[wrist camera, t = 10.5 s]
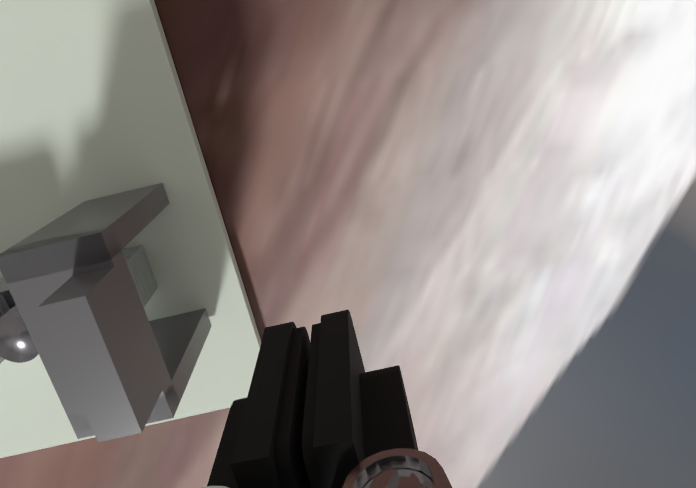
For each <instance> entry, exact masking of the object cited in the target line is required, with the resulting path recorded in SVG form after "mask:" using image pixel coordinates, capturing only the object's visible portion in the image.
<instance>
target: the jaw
mask: <svg viewBox="0 0 696 488" xmlns="http://www.w3.org/2000/svg"><path fill="white" fill-rule="evenodd" d="M9 310H10V309H9V307H8V305H7V303H6V300H5V298H4V296H3V295H0V318H1V317H2V316H3V315H4V314H6V313H7V312H8V311H9ZM4 360H5V359H4V358H2V357H1V356H0V363H2V362H3V361H4Z"/></svg>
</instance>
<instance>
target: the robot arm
mask: <svg viewBox="0 0 696 488" xmlns="http://www.w3.org/2000/svg"><path fill="white" fill-rule="evenodd" d="M203 488H452V486H451V484H450V482H449V480H448V478H447V476H446V474H445V472H444V470H443V468H442V467H441V465H440V464H439V463H438V461H437V460H436V459H435V458H433V457H432V456H430V455H428V454H427V453H425V452H422V451H418V447H417V442H416V437H415V433H414V428H413V423H412V419H411V414H410V410H409V405H408V401H407V396H406V392H405V388H404V383H403V379H402V375H401V371H400V367H399V366H394V367H389V368H384V369H380V370H375V371H370V372H365V370H364V366H363V362H362V358H361V354H360V350H359V346H358V342H357V338H356V334H355V330H354V326H353V322H352V319H351V315H350V312H349V310H345V311H340V312H335V313H331V314H326V315H322V316H321V323H319V324H314V325H312V332H311V343H310V340H309V336H308V333H307V330H306V328H305V327H300V328H296V326H295V324H294V322H289V323H285V324H280V325H276V326H271V327H266V328H265V330H264V334H263V338H262V342H261V346H260V350H259V354H258V358H257V361H256V365H255V369H254V373H253V377H252V381H251V385H250V389H249V392H248V396H247V398H242V399H237V400H235V401H233V403H232V405H231V408H230V411H229V414H228V418H227V421H226V424H225V428H224V431H223V435H222V438H221V441H220V445H219V448H218V451H217V455H216V458H215V462H214V465H213V468H212V472H211V475H210V478H209V482H208V485H207V487H203Z"/></svg>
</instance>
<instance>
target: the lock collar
mask: <svg viewBox="0 0 696 488" xmlns="http://www.w3.org/2000/svg"><path fill="white" fill-rule="evenodd" d="M168 204H169V200H168V197H167V194H166V191H165V188H164V185H163V183H159V184H155V185H151V186H146V187H142V188H138V189H134V190H130V191H125V192H121V193H117V194H113V195H109V196H104V197H100V198H96V199H92V200H88V201H84V202H83V203H81V204H79V205H78V206H76V207H75V208H73V209H71V210H70V211H68V212H66V213H65V214H63V215H62V216H60V217H58V218H57V219H55V220H54V221H52V222H50V223H49V224H47V225H46V226H44V227H42V228H41V229H39V230H38V231H36V232H34V233H33V234H31V235H30V236H28V237H26V238H25V239H23V240H22V241H20V242H18V243H17V244H15V245H14V246H12V247H10V248H9V249H7V250H5V251H4V252H2V253H1V254H0V271H1V273H2V275H3V277H4V280H5V282H6V284H7V286H8V288H9V290H10V293H11V295H12V297H13V299H14V301H15V303H16V306H17V308H18V310H19V312H20V314H21V317H22V319H23V321H24V323H25V325H26V327H27V330H28V332H29V334H30V336H31V338H32V340H33V343H34V345H35V347H36V349H37V351H38V354H39V356H40V358H41V360H42V362H43V364H44V367H45V369H46V371H47V373H48V375H49V377H50V380H51V382H52V384H53V386H54V388H55V391H56V393H57V395H58V397H59V399H60V401H61V404H62V406H63V408H64V410H65V412H66V414H67V417H68V419H69V421H70V423H71V425H72V428H73V430H74V432H75V434H76V436H77V438H78V439H80V438H85V437H89V436H94V435H95V437H96V439H97V441H98V442H101V441H105V440H110V439H115V438H119V437H124V436H128V435H133V434H137V433H142V431H143V429H144V427H145V425H146V424H148V423H153V422H157V421H162V420H166V419H171V418H174V415H175V413H176V410H177V408H178V406H179V403H180V401H181V398H182V396H183V394H184V391H185V389H186V386H187V384H188V382H189V379H190V377H191V374H192V372H193V370H194V367H195V365H196V362H197V360H198V358H199V355H200V353H201V350H202V348H203V346H204V343H205V341H206V339H207V336H208V334H209V331H210V329H211V327H212V325H211V322H210V319H209V316H208V313H207V311H206V308H204V309H200V310H196V311H191V312H187V313H182V314H178V315H174V316H169V317H165V318H161V319H156V320H152V321H149V320H148V318H147V315H146V312H145V310H144V307H143V305H142V302H141V299H140V297H139V294H138V292H137V289H136V286H135V284H134V281H133V278H132V276H131V273H130V271H129V268H128V265H127V263H126V260H125V257H124V255H123V252H122V249H123V248H124V247H125V246H126V245H127V244H128V243H129V242H130V241H131V240H132V239H133V238H134V237H136V236H137V235H138V234H139V233H140V232H141V231H142V230H143V229H144V228H145V227H146V226H147V225H148V224H149V223H150V222H151V221H152V220H153V219H154V218H155V217H156V216H157V215H158V214H159V213H160V212H161V211H162V210H163V209H164V208H165V207H166V206H167V205H168Z"/></svg>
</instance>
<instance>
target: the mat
mask: <svg viewBox="0 0 696 488" xmlns="http://www.w3.org/2000/svg"><path fill="white" fill-rule="evenodd" d="M159 183H163V185H164V188H165V191H166V194H167V197H168V200H169V204H168V205H167V206H166V207H165V208H164V209H163V210H162V211H161V212H160V213H159V214H158V215H157V216H156V217H155V218H154V219H153V220H152V221H151V222H150V223H149V224H148V225H147V226H146V227H145V228H144V229H143V230H142V231H141V232H140V233H139V234H138V235H137V236H136V237H134V238H133V239H132V240H131V241H130V242H129V243H128V244H127V245H126V246H125V247H124V248H123V249H126V248H130V247H134V246H139V245H143V246H144V249H145V252H146V255H147V257H148V260H149V263H150V266H151V268H152V271H153V274H154V276H155V279H156V282H157V285H158V288H157V290H156V291H155V293H154V294H153V295H152V297H151V298H150V300H149V301H148V302H147V304H146V305H145V307H144V310H145V312H146V315H147V318H148V320H149V321H152V320H156V319H161V318H165V317H169V316H174V315H178V314H182V313H187V312H191V311H196V310H200V309H204V308H206V311H207V313H208V316H209V319H210V322H211V325H212V327H211V329H210V331H209V334H208V336H207V339H206V341H205V343H204V346H203V348H202V350H201V353H200V355H199V358H198V360H197V362H196V365H195V367H194V370H193V372H192V374H191V377H190V379H189V382H188V384H187V386H186V389H185V391H184V394H183V396H182V398H181V401H180V403H179V406H178V408H177V410H176V413H175V415H174V418H171V419H166V420H162V421H157V422H153V423H148V424H146V425H145V426H148V425H152V424H157V423H161V422H166V421H170V420H175V419H179V418H184V417H188V416H193V415H197V414H202V413H206V412H211V411H216V410H220V409H225V408H229V407H231V405H232V403H233V401H235V400H237V399H242V398H247V396H248V392H249V389H250V385H251V381H252V377H253V373H254V369H255V365H256V361H257V358H258V354H259V350H260V346H261V339H260V336H259V332H258V329H257V326H256V323H255V320H254V317H253V313H252V310H251V307H250V304H249V301H248V298H247V294H246V291H245V288H244V285H243V282H242V278H241V275H240V272H239V269H238V266H237V263H236V259H235V256H234V253H233V250H232V247H231V244H230V240H229V237H228V234H227V231H226V228H225V224H224V221H223V218H222V215H221V212H220V209H219V205H218V202H217V199H216V196H215V193H214V190H213V186H212V183H211V180H210V177H209V174H208V170H207V167H206V164H205V161H204V158H203V155H202V151H201V148H200V145H199V142H198V139H197V136H196V132H195V129H194V126H193V123H192V120H191V116H190V113H189V110H188V107H187V104H186V101H185V97H184V94H183V91H182V88H181V85H180V81H179V78H178V75H177V72H176V69H175V66H174V62H173V59H172V56H171V53H170V50H169V47H168V43H167V40H166V37H165V34H164V31H163V27H162V24H161V21H160V18H159V15H158V12H157V8H156V5H155V2H154V0H0V254H1V253H2V252H4V251H5V250H7V249H9V248H10V247H12V246H14V245H15V244H17V243H18V242H20V241H22V240H23V239H25V238H26V237H28V236H30V235H31V234H33V233H34V232H36V231H38V230H39V229H41V228H42V227H44V226H46V225H47V224H49V223H50V222H52V221H54V220H55V219H57V218H58V217H60V216H62V215H63V214H65V213H66V212H68V211H70V210H71V209H73V208H75V207H76V206H78V205H79V204H81V203H83V202H84V201H88V200H92V199H96V198H100V197H104V196H109V195H113V194H117V193H121V192H125V191H130V190H134V189H138V188H142V187H146V186H151V185H155V184H159ZM2 277H3V275H2V273H1V271H0V278H2ZM93 437H95V435H94V436H89V437H85V438H80V439H78V438H77V436H76V434H75V432H74V430H73V428H72V425H71V423H70V421H69V419H68V417H67V414H66V412H65V410H64V408H63V406H62V404H61V401H60V399H59V397H58V395H57V393H56V391H55V388H54V386H53V384H52V382H51V380H50V377H49V375H48V373H47V371H46V369H45V367H44V364H43V362H42V360H41V358H40V356H39V354H38V355H37V356H36V357H35V358H34V359H32V360H30V361H27V362H23V363H16V362H11V361H8V360H6V359H5V360H4V361H3V362H2V363H0V458H3V457H8V456H12V455H17V454H21V453H26V452H30V451H35V450H39V449H44V448H48V447H53V446H57V445H62V444H66V443H71V442H75V441H80V440H84V439H89V438H93Z"/></svg>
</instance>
